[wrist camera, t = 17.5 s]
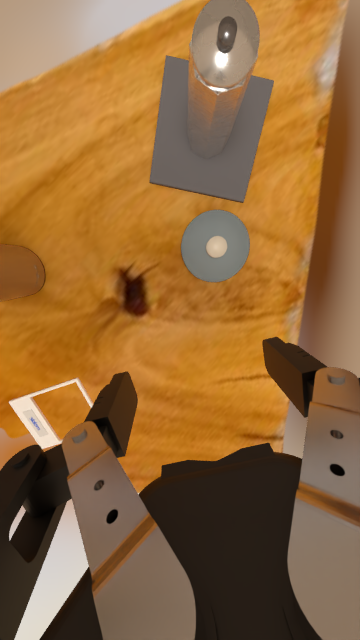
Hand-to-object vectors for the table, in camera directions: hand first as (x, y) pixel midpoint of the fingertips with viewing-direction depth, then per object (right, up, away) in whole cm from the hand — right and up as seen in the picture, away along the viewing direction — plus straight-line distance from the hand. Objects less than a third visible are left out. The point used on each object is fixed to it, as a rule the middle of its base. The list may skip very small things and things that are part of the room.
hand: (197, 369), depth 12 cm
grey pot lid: (+5, +16, +25) cm, 30 cm away
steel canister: (+3, +32, +20) cm, 37 cm away
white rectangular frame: (-29, -19, +36) cm, 51 cm away
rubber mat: (+3, +32, +20) cm, 38 cm away
